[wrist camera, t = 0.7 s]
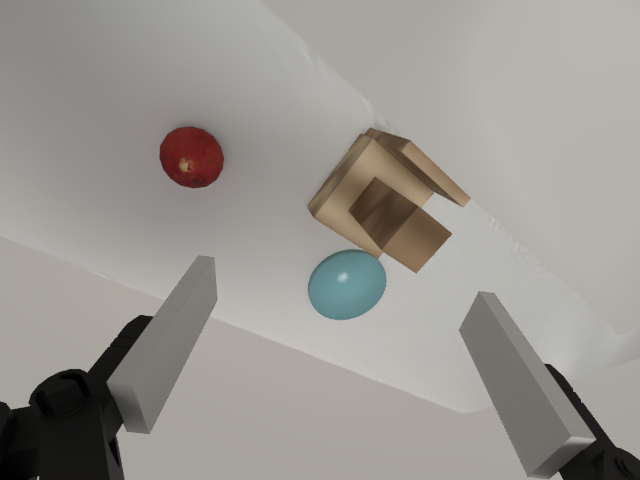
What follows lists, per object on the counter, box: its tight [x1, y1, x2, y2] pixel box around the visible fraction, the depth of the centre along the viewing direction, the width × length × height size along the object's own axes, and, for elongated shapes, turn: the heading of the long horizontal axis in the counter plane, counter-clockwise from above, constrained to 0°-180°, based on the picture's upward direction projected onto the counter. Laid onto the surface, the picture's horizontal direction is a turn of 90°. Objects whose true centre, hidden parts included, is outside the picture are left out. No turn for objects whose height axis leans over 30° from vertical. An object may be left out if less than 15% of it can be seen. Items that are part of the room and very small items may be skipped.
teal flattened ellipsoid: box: [308, 250, 386, 320], centre depth 45 cm, size 12×12×1 cm
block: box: [348, 177, 452, 273], centre depth 31 cm, size 5×5×10 cm
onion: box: [159, 127, 224, 188], centre depth 29 cm, size 6×6×8 cm
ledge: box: [308, 128, 471, 259], centre depth 35 cm, size 12×11×10 cm
